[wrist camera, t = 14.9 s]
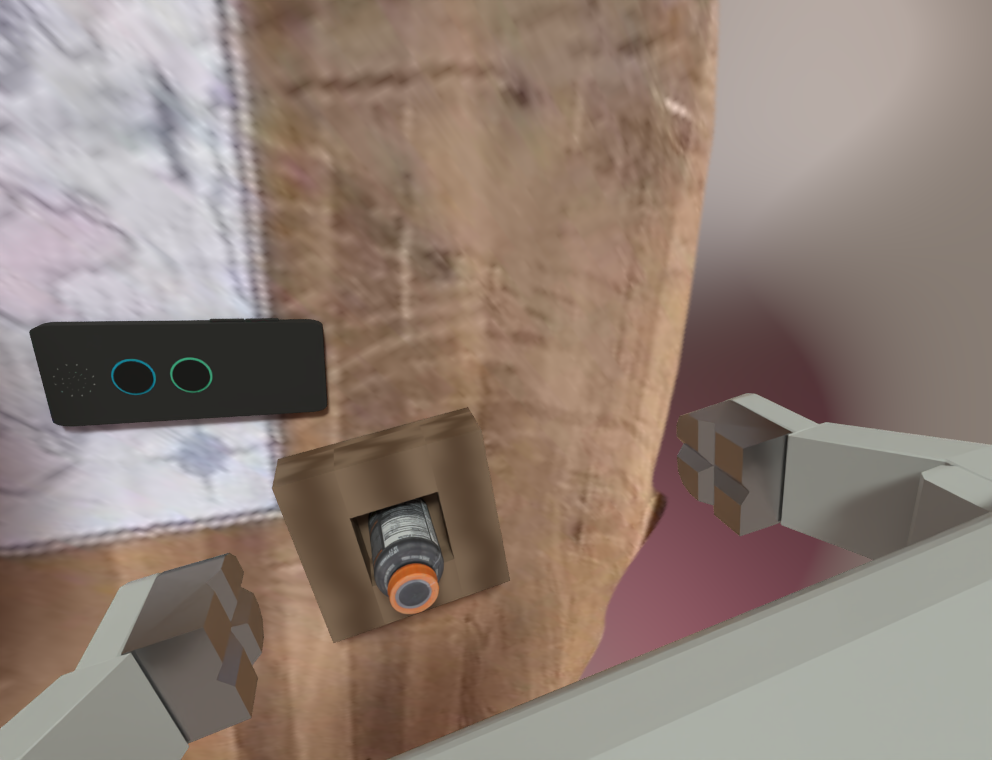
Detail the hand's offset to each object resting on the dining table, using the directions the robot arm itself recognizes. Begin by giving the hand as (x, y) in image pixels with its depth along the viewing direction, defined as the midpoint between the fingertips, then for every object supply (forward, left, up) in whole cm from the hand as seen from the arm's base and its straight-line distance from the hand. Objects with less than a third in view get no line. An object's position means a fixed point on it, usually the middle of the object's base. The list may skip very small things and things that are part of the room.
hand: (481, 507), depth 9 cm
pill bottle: (-3, -25, -36) cm, 44 cm away
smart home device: (-15, -6, -38) cm, 41 cm away
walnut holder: (-3, -25, -37) cm, 45 cm away
